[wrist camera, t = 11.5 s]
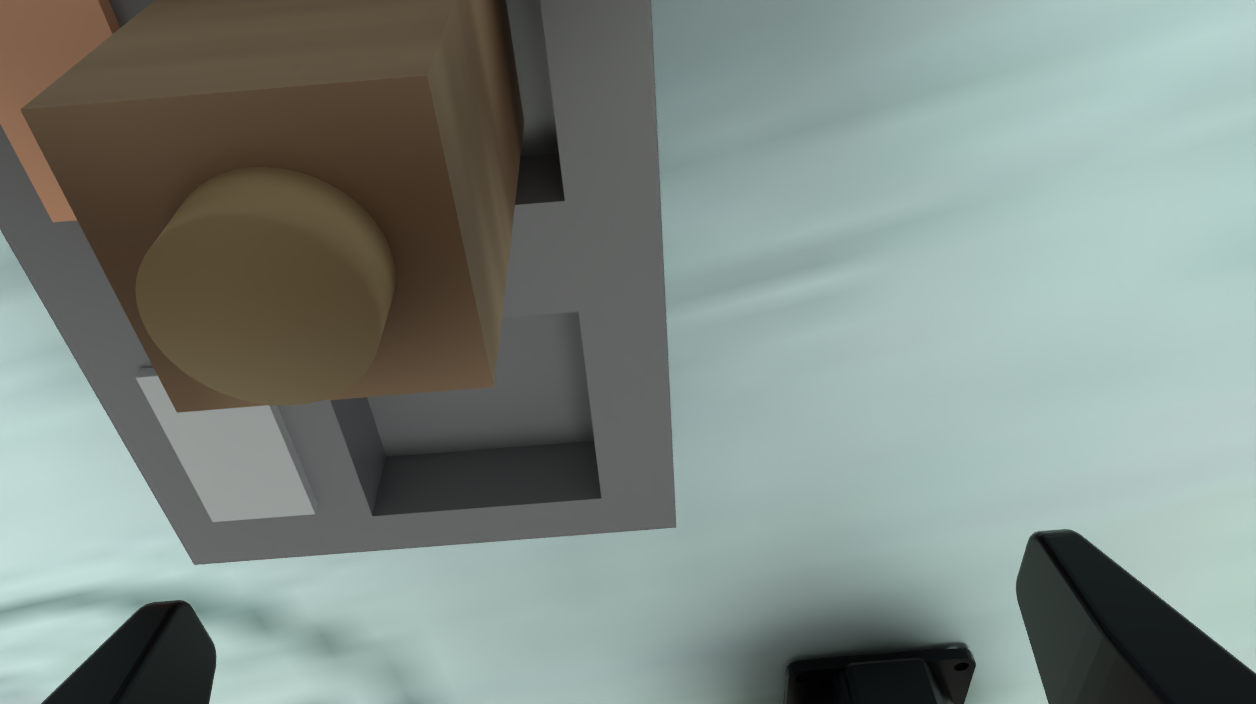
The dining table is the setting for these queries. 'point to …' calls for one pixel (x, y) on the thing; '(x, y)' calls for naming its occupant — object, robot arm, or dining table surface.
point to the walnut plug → (298, 192)
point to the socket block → (420, 422)
